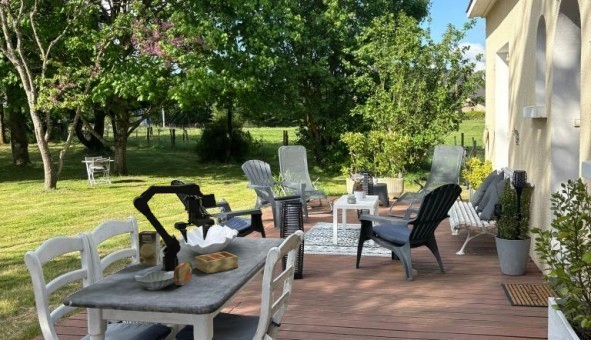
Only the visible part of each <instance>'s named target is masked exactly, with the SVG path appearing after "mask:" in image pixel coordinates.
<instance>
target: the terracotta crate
mask: <svg viewBox="0 0 591 340" xmlns="http://www.w3.org/2000/svg"><path fill="white" fill-rule="evenodd" d="M223 258H226V257H225V256H222V255H220V254H214V255H208V256H207V261H212V260H218V259H223Z"/></svg>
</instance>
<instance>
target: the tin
mask: <svg viewBox="0 0 591 340" xmlns="http://www.w3.org/2000/svg"><path fill="white" fill-rule="evenodd" d="M193 270H194V269H193V265H192V262H191V261H183V262H181V263H180V264H179V265H178V266H177V267H176V268H175V270H173V279H174V283H175V285H176V286H185V285H186V284H187V283H188V282H190V281H191V280H192V278H193Z"/></svg>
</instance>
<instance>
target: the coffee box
mask: <svg viewBox="0 0 591 340" xmlns="http://www.w3.org/2000/svg"><path fill="white" fill-rule="evenodd" d="M161 253H162V252H161V236H160V235H159V234H158V232H157V231H156V230H142V231H140V232H139V233H138V255H139V256H138V257H139V260H138V261H139V266H158V265H159V264H161V263H162V257H161Z"/></svg>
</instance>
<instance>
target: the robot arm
mask: <svg viewBox="0 0 591 340" xmlns="http://www.w3.org/2000/svg"><path fill="white" fill-rule="evenodd" d="M160 194H161V195H165V194H166V195H167V194H170V195H171V194H175V195H176V194H182V195H185V197H184V198H183V201H185V202H186V201H187V211H186V214H187V216H188V219H187V222H184V221H177V222H175V223H174V224H173V228H174V230H177V231H178V232H180V234H181V235H182V237H183V240H184V242H185V243H186V244H188V233H187V232H188V229H187V228H189V227H197V228H200V227H202V228H201V229H202V239H203V241H206V238H207V235H208V231H209V230H210V228H212V227H213V226H215V225H216V224H215V223H216V222H215V219H214V218H211V217H210V216H209V214H204V215H202V211H201V207H202V208H203V209H213V208H217V200H216V196H215V193H208V194H204V193H203V192H202V191H201V188H200V185H199V184H197V183H195V182H188V183H187V182H186V183H184V184H177V185H175V184H174V185H170V184H169V185H167V184H166V185H165V184H164V185H163V184H162V185H161V184H160V185H155V184H151V185H149V186H148V188H147V189H146V190H144V191H143V192H141V194H140V195H137V196H135V197H134V198H133V200H132V204H133V207H134V208H135V209H136V210H137V211H138V212H139V213H141V215H142V216H144V217H145V218H146V220H147V221H148V222H149V224H151V226H152V227H153V228H154V231H157V232H158V234H159V235H160V238H161V239H162V241H163V243H164V245H165V247H164V248H163V249H162V252H161V253H163V255H164V256H162V257H161V260H162V267H161V269H162V270H163V271H165V272H170V271H174V270H175V268H176V267H177V266H178V265H180V264H179V263H180V262H179V258H178V253H179V252H180V251H181V248H182V247H181V241H180V240H179V239H178V238H177V237H176V235H175V234H172V235H171V234H170V233H169V231H167V230H166V228H165V227H164V225H162V224H161V222H160V221H159V219H158V218H157V217H156V216H155V214H154V213H153V212H152V210H151V208H150V206H149V204H148V203H149V202H150V201H151V199H153V197H154V196H155V195H160ZM196 196H197V197H196Z"/></svg>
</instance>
